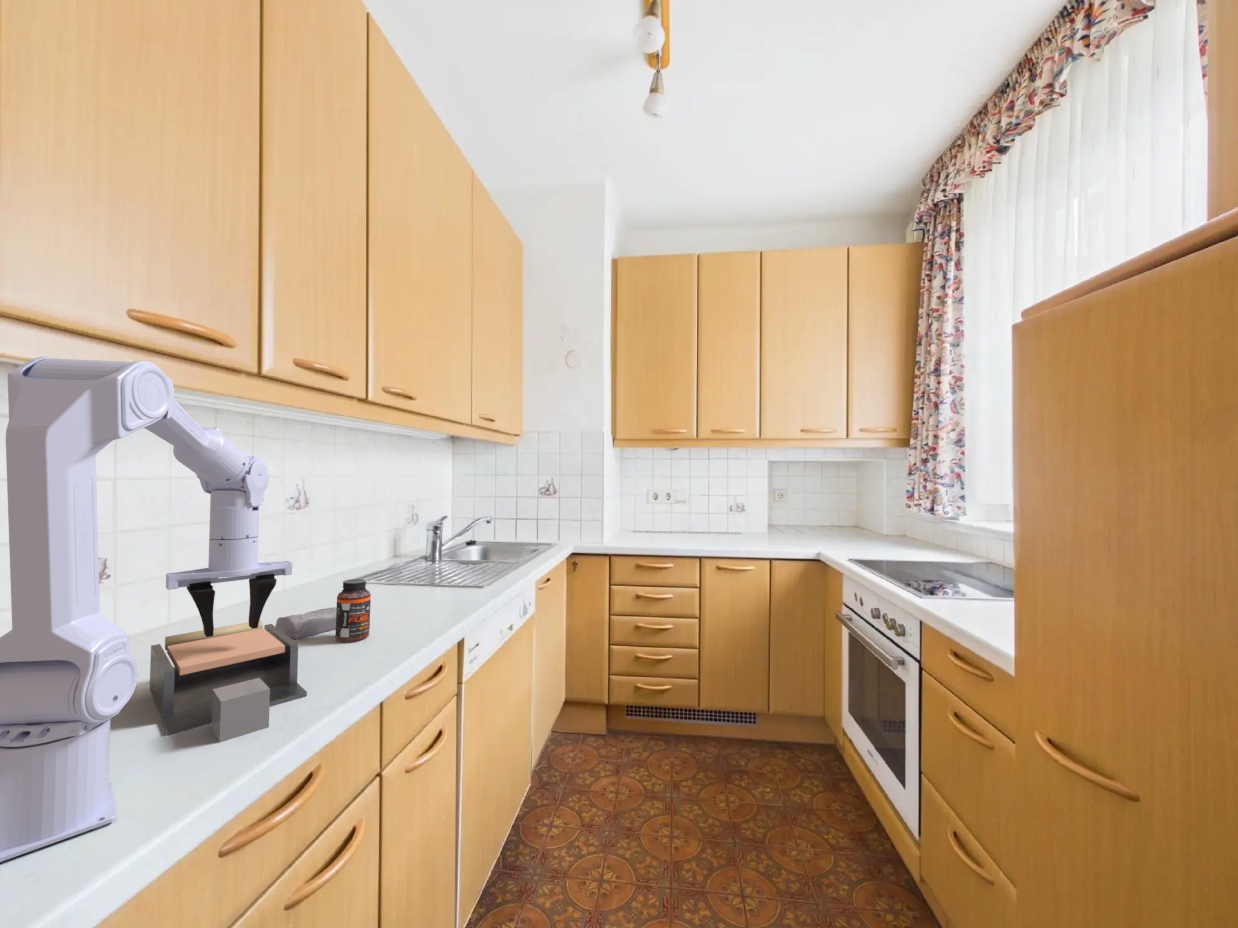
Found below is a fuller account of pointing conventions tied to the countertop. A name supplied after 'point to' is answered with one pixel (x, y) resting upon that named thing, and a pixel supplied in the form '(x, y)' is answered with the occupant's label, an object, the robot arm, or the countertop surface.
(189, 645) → the trapdoor
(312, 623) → the stone block
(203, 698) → the trapdoor frame
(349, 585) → the supplement bottle
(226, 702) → the grey cube
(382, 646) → the countertop surface
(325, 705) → the countertop surface
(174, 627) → the countertop surface
